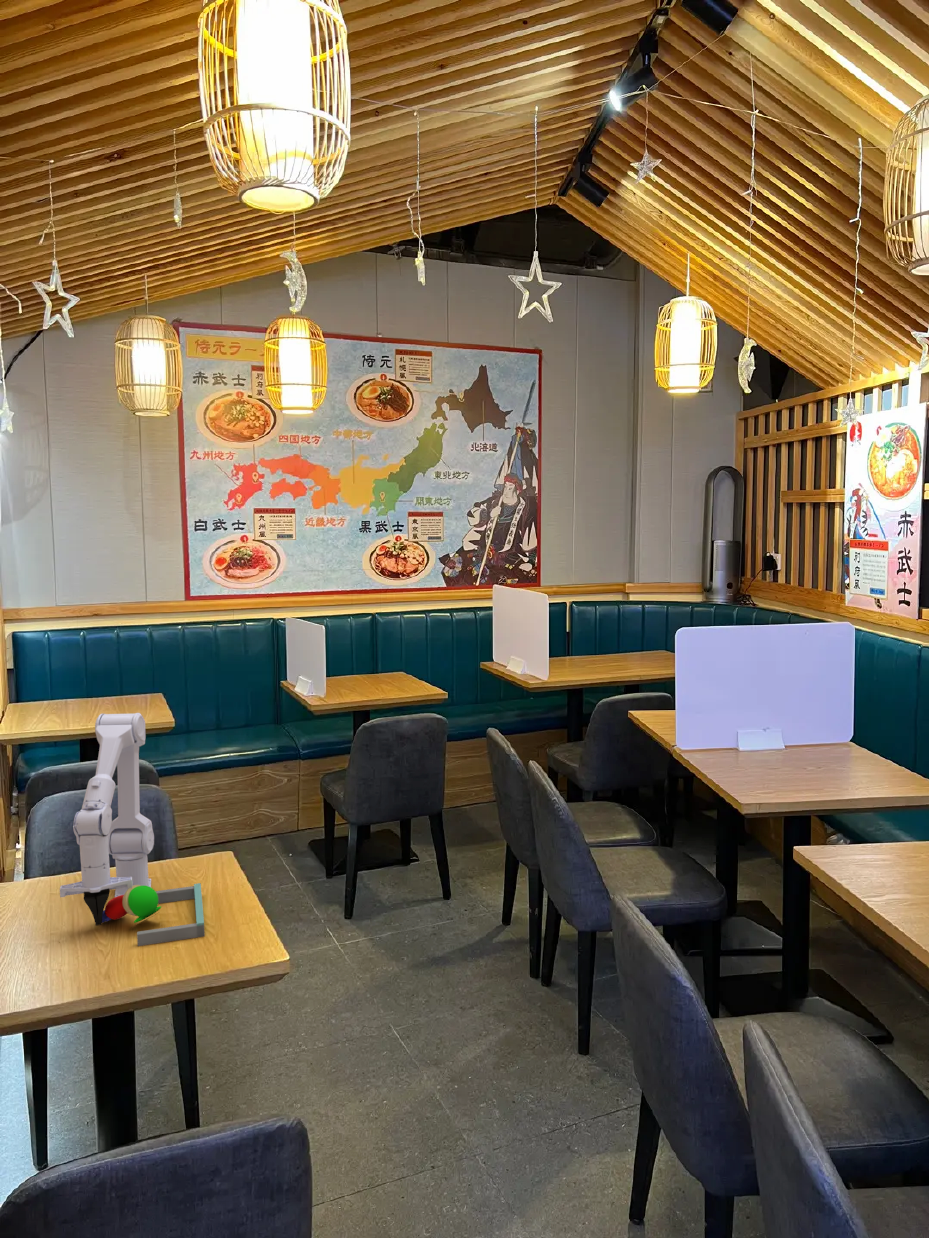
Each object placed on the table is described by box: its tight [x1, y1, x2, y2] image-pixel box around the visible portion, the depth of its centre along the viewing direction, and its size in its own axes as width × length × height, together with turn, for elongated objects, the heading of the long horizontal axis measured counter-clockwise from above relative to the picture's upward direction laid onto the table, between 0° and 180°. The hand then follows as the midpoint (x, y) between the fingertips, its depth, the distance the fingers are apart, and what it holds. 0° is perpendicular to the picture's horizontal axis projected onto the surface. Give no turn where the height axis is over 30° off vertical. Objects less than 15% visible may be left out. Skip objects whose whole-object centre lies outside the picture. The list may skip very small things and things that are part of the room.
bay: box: [136, 882, 206, 947], centre depth 202 cm, size 23×14×3 cm, turn 18°
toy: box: [102, 885, 162, 929], centre depth 199 cm, size 8×8×15 cm
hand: (98, 923), depth 197 cm, fingers closed
